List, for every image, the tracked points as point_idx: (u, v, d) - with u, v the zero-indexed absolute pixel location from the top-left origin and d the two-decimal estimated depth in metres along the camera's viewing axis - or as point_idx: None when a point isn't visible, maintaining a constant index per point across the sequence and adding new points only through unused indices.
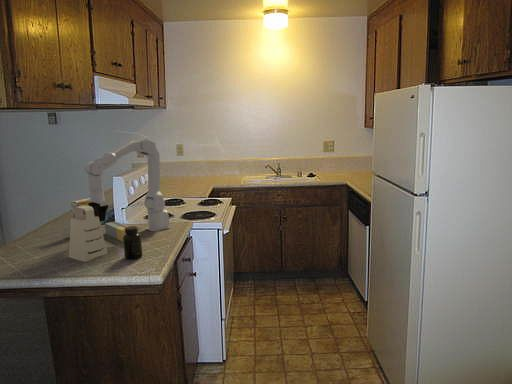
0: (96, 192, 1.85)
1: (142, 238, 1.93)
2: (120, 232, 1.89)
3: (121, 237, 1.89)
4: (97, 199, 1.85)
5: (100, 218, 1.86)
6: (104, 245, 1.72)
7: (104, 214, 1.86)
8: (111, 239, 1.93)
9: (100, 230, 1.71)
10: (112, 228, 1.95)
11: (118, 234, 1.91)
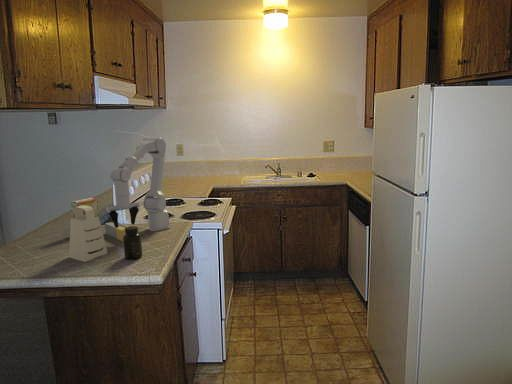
0: None
1: (142, 238, 1.93)
2: (120, 232, 1.89)
3: (121, 237, 1.89)
4: (116, 205, 1.88)
5: (114, 224, 1.88)
6: (104, 245, 1.72)
7: (115, 221, 1.86)
8: (111, 239, 1.93)
9: (100, 230, 1.71)
10: (112, 228, 1.95)
11: (118, 234, 1.91)
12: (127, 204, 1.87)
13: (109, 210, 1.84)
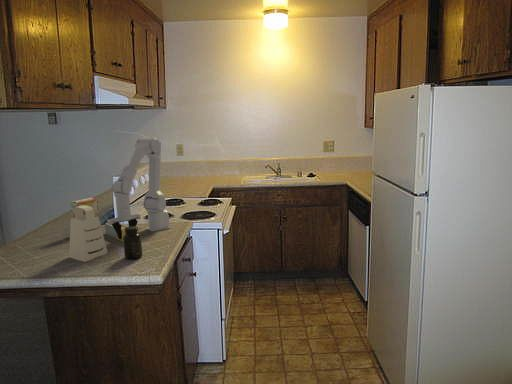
0: (117, 210, 1.88)
1: (142, 238, 1.93)
2: None
3: None
4: (117, 217, 1.89)
5: (117, 235, 1.90)
6: (104, 245, 1.72)
7: (119, 233, 1.88)
8: (111, 239, 1.93)
9: (100, 230, 1.71)
10: (112, 228, 1.95)
11: None
12: (128, 216, 1.88)
13: (110, 222, 1.85)
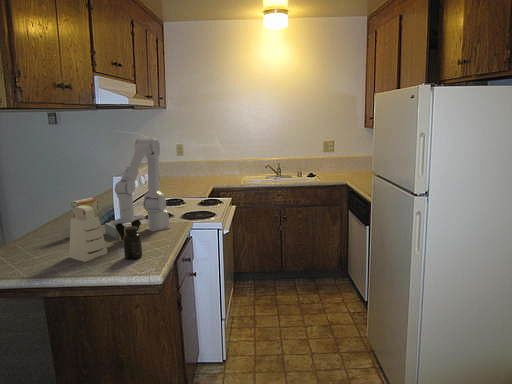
0: (120, 211, 1.86)
1: (142, 238, 1.93)
2: None
3: None
4: (120, 218, 1.86)
5: (120, 236, 1.88)
6: (104, 245, 1.72)
7: (121, 234, 1.86)
8: (111, 239, 1.93)
9: (100, 230, 1.71)
10: (112, 228, 1.95)
11: None
12: (131, 217, 1.86)
13: (113, 224, 1.83)
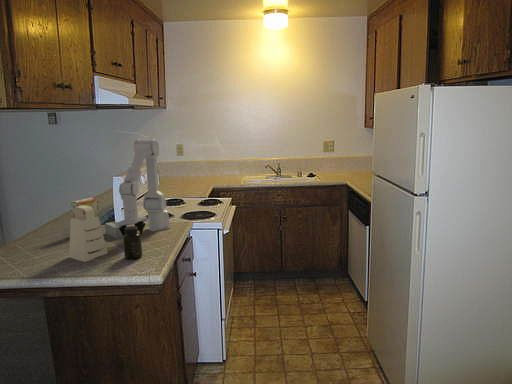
0: (124, 213, 1.83)
1: (142, 238, 1.93)
2: None
3: None
4: (124, 220, 1.83)
5: None
6: (104, 245, 1.72)
7: None
8: (111, 239, 1.93)
9: (100, 230, 1.71)
10: (112, 228, 1.95)
11: None
12: (136, 219, 1.83)
13: (118, 225, 1.79)
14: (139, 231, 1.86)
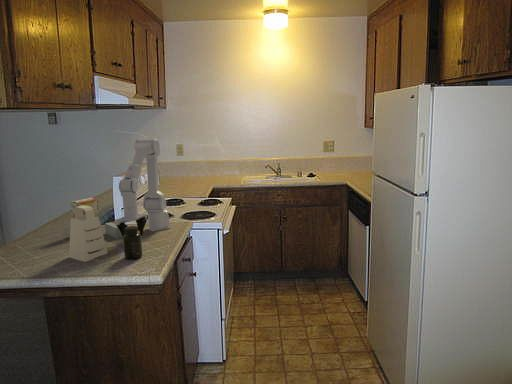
0: None
1: (142, 238, 1.93)
2: None
3: None
4: (124, 217, 1.83)
5: (122, 236, 1.83)
6: (104, 245, 1.72)
7: (124, 233, 1.82)
8: (111, 239, 1.93)
9: (100, 230, 1.71)
10: (112, 228, 1.95)
11: None
12: (136, 215, 1.83)
13: (118, 222, 1.79)
14: (139, 231, 1.86)
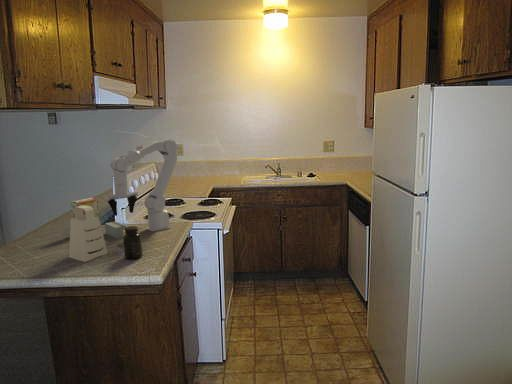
0: None
1: (142, 238, 1.93)
2: None
3: None
4: (115, 194, 1.94)
5: (113, 212, 1.95)
6: (104, 245, 1.72)
7: (114, 209, 1.93)
8: (111, 239, 1.93)
9: (100, 230, 1.71)
10: (112, 228, 1.95)
11: None
12: (125, 193, 1.94)
13: (108, 198, 1.91)
14: (139, 231, 1.86)
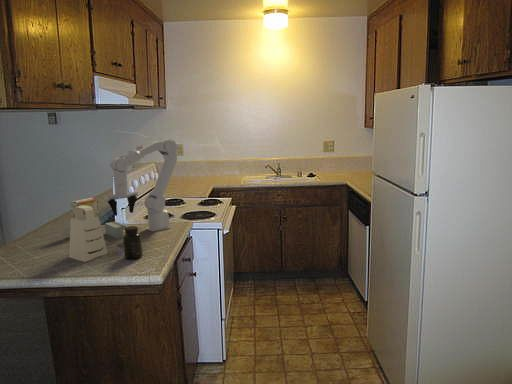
0: None
1: (142, 238, 1.93)
2: None
3: None
4: (115, 194, 1.94)
5: (113, 212, 1.95)
6: (104, 245, 1.72)
7: (114, 209, 1.93)
8: (111, 239, 1.93)
9: (100, 230, 1.71)
10: (112, 228, 1.95)
11: None
12: (125, 193, 1.94)
13: (108, 198, 1.91)
14: (139, 231, 1.86)
